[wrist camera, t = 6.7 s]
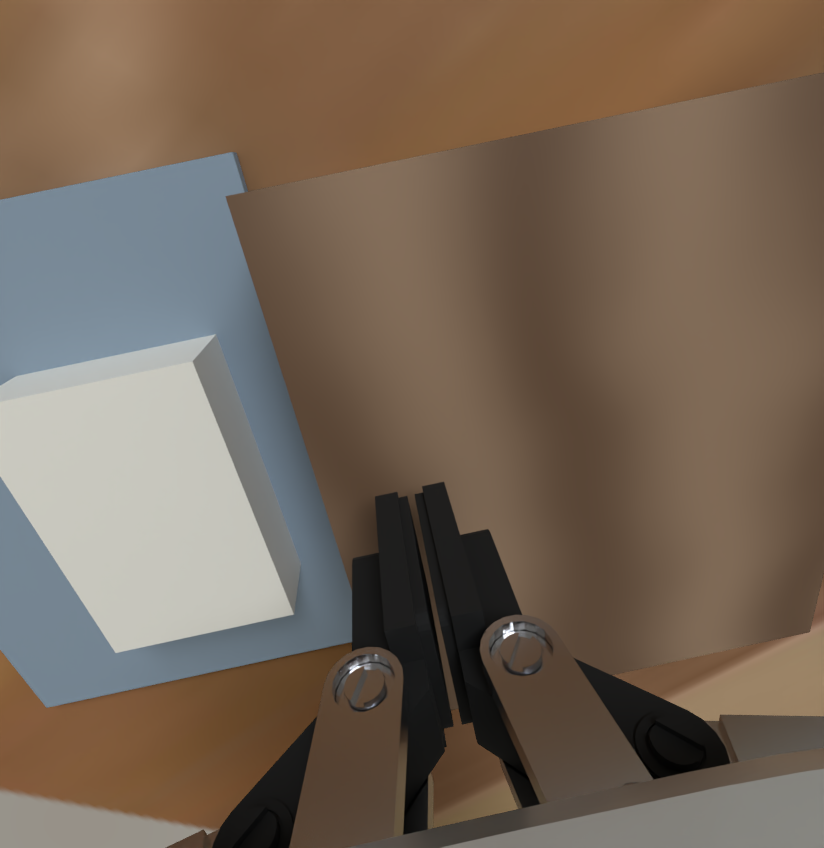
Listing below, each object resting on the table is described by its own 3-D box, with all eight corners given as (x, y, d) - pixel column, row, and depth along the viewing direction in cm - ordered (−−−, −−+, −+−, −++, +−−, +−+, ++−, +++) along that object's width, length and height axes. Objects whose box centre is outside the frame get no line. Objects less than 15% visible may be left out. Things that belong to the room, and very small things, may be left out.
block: (-43, 410, 13) (16, 375, 15) (115, 653, 17) (143, 597, 19) (192, 361, 13) (216, 333, 15) (293, 614, 17) (301, 563, 19)
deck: (762, 87, 14) (950, 46, 10) (714, 536, 21) (809, 632, 17) (266, 189, 14) (225, 196, 10) (385, 606, 21) (393, 722, 17)
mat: (236, 153, 14) (232, 152, 13) (378, 626, 22) (379, 636, 21) (-286, 260, 13) (-308, 263, 13) (53, 696, 21) (46, 707, 21)
